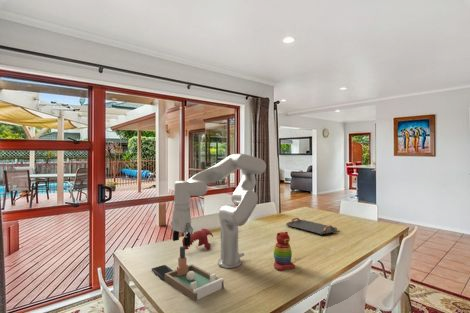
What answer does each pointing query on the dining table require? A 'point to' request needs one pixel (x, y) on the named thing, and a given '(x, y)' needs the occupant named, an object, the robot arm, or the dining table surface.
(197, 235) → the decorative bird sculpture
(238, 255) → the robot arm
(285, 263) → the stacking bear
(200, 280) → the pitch
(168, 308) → the dining table surface
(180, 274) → the kicker
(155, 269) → the phone
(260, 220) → the dining table surface
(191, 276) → the ball
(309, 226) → the serving board
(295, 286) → the dining table surface
